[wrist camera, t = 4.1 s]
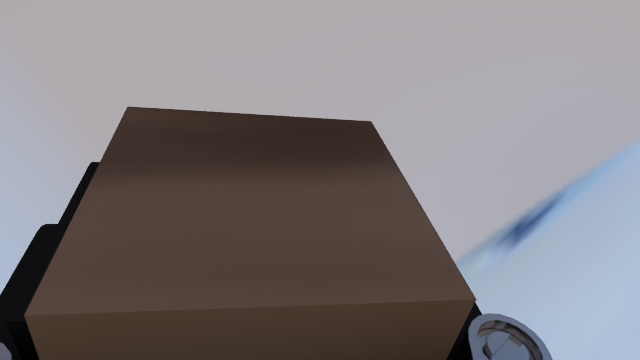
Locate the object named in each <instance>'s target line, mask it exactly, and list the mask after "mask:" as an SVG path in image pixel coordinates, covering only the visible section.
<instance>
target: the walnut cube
mask: <svg viewBox="0 0 640 360" xmlns="http://www.w3.org/2000/svg"><path fill="white" fill-rule="evenodd" d="M475 301H476V298H475V297H474V295H473V293H472V291H471V290H470V288H469V286H468V285H467V283H466V281H465V280H464V278H463V276H462V274H461V273H460V271H459V269H458V268H457V266H456V264H455V263H454V261H453V260H452V258H451V256H450V254H449V253H448V251H447V250H446V248H445V246H444V244H443V242H442V241H441V239H440V238H439V236H438V234H437V232H436V231H435V229H434V227H433V225H432V224H431V222H430V220H429V219H428V217H427V215H426V213H425V212H424V210H423V209H422V207H421V205H420V203H419V202H418V200H417V198H416V197H415V195H414V193H413V191H412V190H411V188H410V186H409V185H408V183H407V181H406V180H405V178H404V176H403V175H402V173H401V171H400V170H399V168H398V166H397V164H396V163H395V161H394V160H393V158H392V156H391V155H390V152H389V151H388V149H387V148H386V146H385V144H384V143H383V141H382V139H381V138H380V136H379V134H378V132H377V130H376V129H375V127H374V125H373V124H372V122H371V121H370V122H369V121H354V120H338V119H321V118H306V117H289V116H273V115H255V114H240V113H239V114H238V113H223V112H207V111H191V110H174V109H157V108H141V107H127V109H126V111H125V113H124V115H123V117H122V119H121V121H120V123H119V125H118V128H117V129H116V131H115V133H114V135H113V138H112V139H111V141H110V143H109V145H108V147H107V150H106V151H105V154H104V155H103V158H102V159H101V161H100V164H99V166H98V168H97V170H96V172H95V174H94V176H93V178H92V180H91V182H90V184H89V186H88V188H87V190H86V192H85V194H84V196H83V198H82V200H81V202H80V204H79V206H78V208H77V210H76V212H75V214H74V216H73V218H72V220H71V222H70V224H69V226H68V228H67V230H66V232H65V234H64V236H63V238H62V240H61V242H60V244H59V246H58V248H57V250H56V252H55V254H54V256H53V258H52V260H51V262H50V264H49V266H48V268H47V270H46V272H45V274H44V277H43V279H42V281H41V283H40V285H39V287H38V289H37V291H36V293H35V295H34V297H33V299H32V301H31V303H30V305H29V307H28V309H27V311H26V313H25V315H24V317H25V320H26V322H27V325H28V328H29V331H30V334H31V337H32V339H33V342H34V345H35V348H36V351H37V354H38V357H39V359H40V360H446V359H447V357H448V355H449V353H450V351H451V349H452V347H453V345H454V343H455V341H456V339H457V337H458V335H459V333H460V331H461V329H462V327H463V325H464V323H465V321H466V319H467V317H468V315H469V313H470V311H471V309H472V307H473V305H474V303H475Z"/></svg>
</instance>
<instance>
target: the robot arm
mask: <svg viewBox="0 0 640 360" xmlns="http://www.w3.org/2000/svg"><path fill="white" fill-rule="evenodd" d="M99 164H100V162H91V163H90V165H89V166H88V168H87V170H86V172H85V174H84V176H83V178H82V180H81V181H80V183H79V185H78V187H77V189H76V191H75V193H74V195H73V196H72V198H71V200H70V202H69V204H68V206H67V208H66V210H65V212H64V213H63V216H62V217H61V220H60V221H59V223H58V224H45V225H43V226H41V227H40V229H39V230H38V231H37V233H36V234H35V236H34V238H33V240H32V241H31V243H30V245H29V247H28V248H27V250H26V252H25V253H24V255H23V257H22V259H21V260H20V262H19V264H18V266H17V267H16V269H15V271H14V272H13V274H12V276H11V278H10V279H9V281H8V283H7V284H6V286H5V288H4V290H3V291H2V293H1V295H0V360H40V359H39V357H38V354H37V351H36V348H35V345H34V342H33V339H32V337H31V334H30V331H29V328H28V325H27V322H26V320H25V317H24V315H25V313H26V311H27V309H28V307H29V305H30V303H31V301H32V299H33V297H34V295H35V293H36V291H37V289H38V287H39V285H40V283H41V281H42V279H43V277H44V274H45V272H46V270H47V268H48V266H49V264H50V262H51V260H52V258H53V256H54V254H55V252H56V250H57V248H58V246H59V244H60V242H61V240H62V238H63V236H64V234H65V232H66V230H67V228H68V226H69V224H70V222H71V220H72V218H73V216H74V214H75V212H76V210H77V208H78V206H79V204H80V202H81V200H82V198H83V196H84V194H85V192H86V190H87V188H88V186H89V184H90V182H91V180H92V178H93V176H94V174H95V172H96V170H97V168H98V166H99ZM446 360H552V357H551V355H550V353H549V351H548V349H547V347H546V346H545V344H544V343H543V341H542V340H541V339H540V338H539V337H538V336H537V335H536V334H535V333H534V332H533V331H532V330H531V329H529V328H528V327H527V326H525V325H524V324H522V323H520V322H519V321H517V320H515V319H513V318H510V317H507V316H504V315H501V314H489V313H488V314H484V315H482V313H481V312H480V310H479V308H478V306H477V305H476V303H474V305H473V307H472V309H471V311H470V313H469V315H468V317H467V319H466V321H465V323H464V325H463V327H462V329H461V331H460V333H459V335H458V337H457V339H456V341H455V343H454V345H453V347H452V349H451V351H450V353H449V355H448V357H447V359H446Z"/></svg>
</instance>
